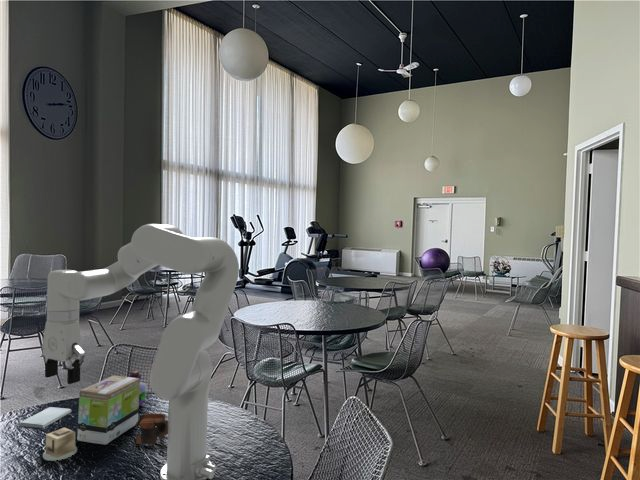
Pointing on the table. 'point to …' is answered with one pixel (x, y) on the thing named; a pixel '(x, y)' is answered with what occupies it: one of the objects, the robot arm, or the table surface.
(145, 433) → the pottery mug
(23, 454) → the table surface
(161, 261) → the robot arm
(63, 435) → the letter cube
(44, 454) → the pale green disc
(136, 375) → the potion bottle
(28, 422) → the hard drive
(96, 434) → the tea box
